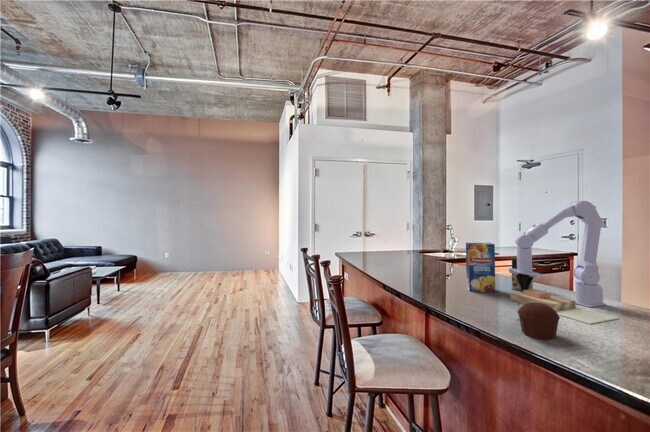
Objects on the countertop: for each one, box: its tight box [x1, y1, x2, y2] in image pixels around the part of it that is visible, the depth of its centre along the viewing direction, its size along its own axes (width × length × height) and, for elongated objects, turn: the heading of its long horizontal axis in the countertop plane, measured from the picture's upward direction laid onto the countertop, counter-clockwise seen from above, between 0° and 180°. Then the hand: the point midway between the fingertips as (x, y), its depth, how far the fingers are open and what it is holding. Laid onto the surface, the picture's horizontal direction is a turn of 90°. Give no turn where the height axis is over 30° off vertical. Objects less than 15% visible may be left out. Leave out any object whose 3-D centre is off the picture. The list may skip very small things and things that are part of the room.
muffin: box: [516, 302, 561, 341], centre depth 99 cm, size 12×11×10 cm
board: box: [510, 291, 577, 311], centre depth 131 cm, size 14×18×3 cm
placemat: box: [556, 307, 620, 325], centre depth 116 cm, size 16×13×1 cm
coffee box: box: [511, 256, 534, 292], centre depth 156 cm, size 9×6×16 cm
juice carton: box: [465, 242, 496, 293], centre depth 156 cm, size 12×8×24 cm, turn 76°
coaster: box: [522, 288, 552, 299], centre depth 133 cm, size 7×7×2 cm
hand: (524, 291), depth 139 cm, fingers closed
